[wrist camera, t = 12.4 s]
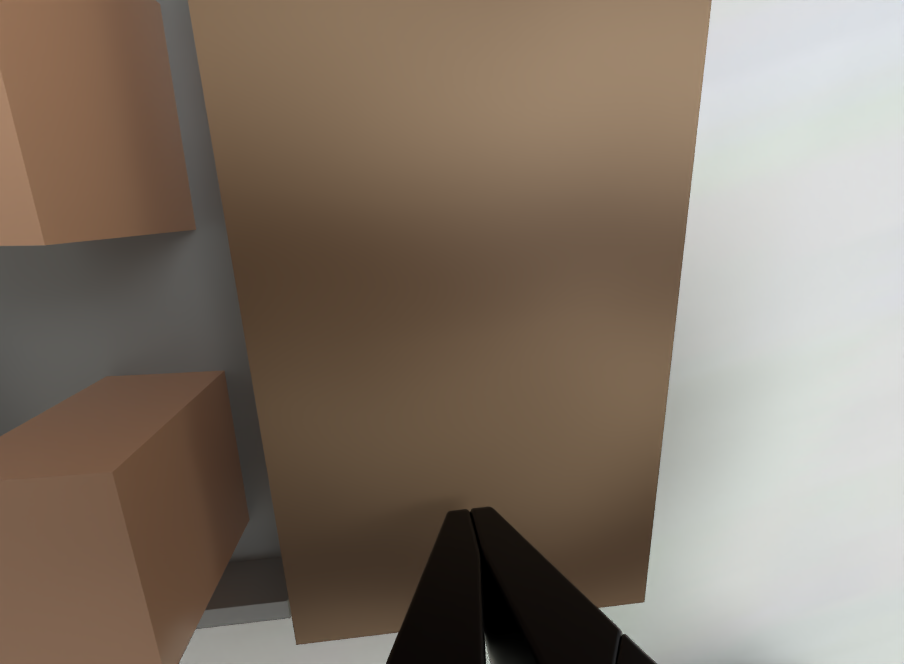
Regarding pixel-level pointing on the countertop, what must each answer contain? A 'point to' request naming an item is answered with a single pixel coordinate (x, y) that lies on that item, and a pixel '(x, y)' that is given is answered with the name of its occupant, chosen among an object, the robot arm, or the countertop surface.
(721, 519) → the countertop surface
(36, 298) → the tray
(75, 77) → the block
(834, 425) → the countertop surface
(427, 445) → the wood-grain board
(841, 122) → the countertop surface
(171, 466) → the brown square block
